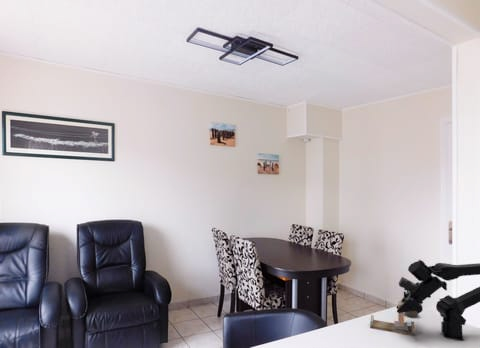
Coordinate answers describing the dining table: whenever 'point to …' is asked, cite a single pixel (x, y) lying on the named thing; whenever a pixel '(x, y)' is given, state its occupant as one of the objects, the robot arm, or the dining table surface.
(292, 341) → the dining table surface
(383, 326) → the fader track
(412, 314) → the vase
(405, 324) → the fader
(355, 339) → the dining table surface
